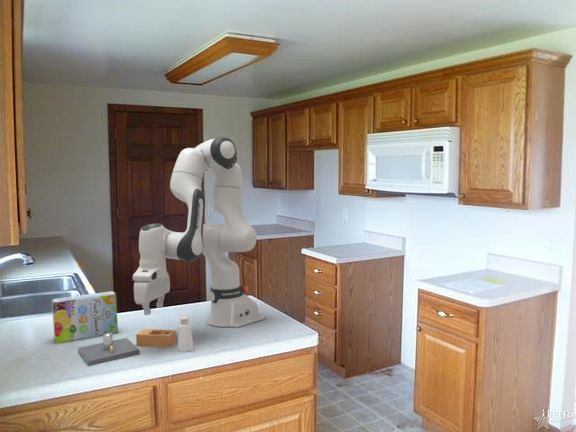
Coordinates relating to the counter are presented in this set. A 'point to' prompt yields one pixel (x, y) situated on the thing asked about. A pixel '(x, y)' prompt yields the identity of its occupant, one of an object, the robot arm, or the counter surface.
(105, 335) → the steel post
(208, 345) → the counter surface
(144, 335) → the orange block with recesses
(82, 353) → the base plate
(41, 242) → the counter surface
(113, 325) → the snack box
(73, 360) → the counter surface
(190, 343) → the pepper shaker
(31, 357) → the counter surface
